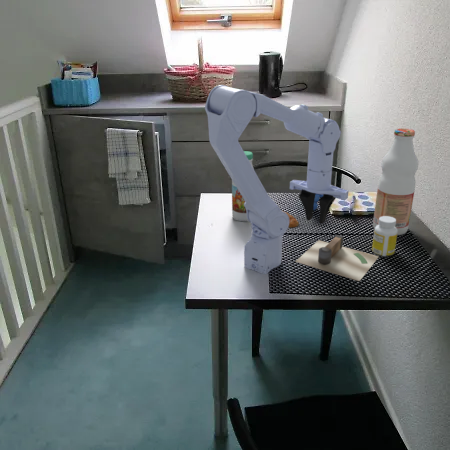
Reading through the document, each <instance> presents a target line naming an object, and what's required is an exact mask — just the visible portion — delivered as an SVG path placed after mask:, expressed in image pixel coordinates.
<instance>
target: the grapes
mask: <svg viewBox="0 0 450 450" xmlns="http://www.w3.org/2000/svg"><path fill="white" fill-rule="evenodd" d="M321 197H323V195H321V194H316V195H315V200H314V208H313V212H315V211H316V210H317V209H318V207H319V205H318V202H319V199H320V198H321Z"/></svg>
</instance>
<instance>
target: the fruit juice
mask: <svg viewBox="0 0 450 450" xmlns="http://www.w3.org/2000/svg"><path fill="white" fill-rule="evenodd" d="M415 135H416V131H415V130H414V129H412V128H404V127H403V128H396V129H394V132H393V136H394V139H393V141H392V144H391V146H390V147H389V149H388V151H387V152H386V154H385V155H384V156H383V157H382V159H381V163H380V164H381V175H380V176H379V179H378V183H377V191H376V199H375V205H374V214H373V220H372V228H373V229H374V230H375V227H376V226H377V225H379V224H378V221H379V218H380V217H382V216H390V217H393V218H395V219H396V225H395V227H396V228H397V231H398V232H397V236H401V235H405V234H406V233H407V232H408V230H409V225H410V220H411V213H412V208H413V202H414V197H415V196H414V195H415V191H416V185H417V184H416V181H417V180H416V177H415V176H416V173H417V171H418V168H419V159H418V157H417V155H416V153H415V149H414V148H415V147H414V141H413V139H414V138H415Z"/></svg>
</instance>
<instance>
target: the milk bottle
mask: <svg viewBox="0 0 450 450" xmlns="http://www.w3.org/2000/svg"><path fill="white" fill-rule="evenodd" d="M243 151H244V153H245V154H246V156H247V158H248V160H249V162H250V163H251V165H252V167H253V166H254V165H253V161H254V159H253V158H254V153H253V152H252V151H247V150H246V151H245V150H243ZM253 169H254V170H255V168H254V167H253ZM244 203H245V200H244V199H243V197H242V195H241V194H240V192H239V190H238V189H237V187H236V185H235V184H234V182H233V180H232V179H231V211H232V214H231V215H232V218H233V219H234V220H235V221H238V222H249V220H248V219H247V212H246V208H245V206H244Z"/></svg>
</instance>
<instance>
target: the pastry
mask: <svg viewBox="0 0 450 450" xmlns="http://www.w3.org/2000/svg"><path fill="white" fill-rule="evenodd" d="M282 211H283V212H285V213H286V214H287V215H288V216H289V226H288V229H289V228H296V227H298V226H299V221H298V220H297V218H296V217H294V216H293V214H292V215H291V214H290V213H289V212H286V211H284V210H282Z"/></svg>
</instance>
